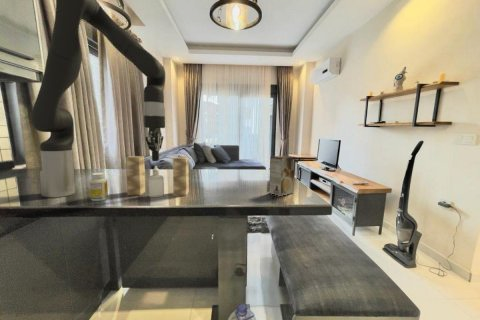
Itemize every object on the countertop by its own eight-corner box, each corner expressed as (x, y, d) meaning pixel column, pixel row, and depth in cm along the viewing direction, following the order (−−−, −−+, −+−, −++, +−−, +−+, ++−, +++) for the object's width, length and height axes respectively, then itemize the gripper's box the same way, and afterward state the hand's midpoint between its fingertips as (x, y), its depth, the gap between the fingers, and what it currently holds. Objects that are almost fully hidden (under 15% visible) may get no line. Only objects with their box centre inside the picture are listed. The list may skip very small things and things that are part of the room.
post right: (173, 195, 87) (172, 158, 86) (176, 192, 92) (176, 156, 90) (186, 195, 88) (185, 158, 86) (188, 192, 93) (188, 157, 91)
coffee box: (282, 190, 100) (283, 155, 98) (293, 193, 95) (296, 156, 93) (268, 193, 94) (270, 156, 92) (280, 197, 89) (282, 158, 87)
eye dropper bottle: (160, 198, 84) (159, 167, 83) (146, 197, 85) (145, 166, 83) (165, 194, 88) (165, 165, 87) (152, 193, 89) (152, 164, 88)
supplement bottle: (96, 202, 78) (94, 175, 76) (88, 199, 80) (86, 173, 79) (111, 198, 82) (110, 173, 81) (103, 196, 85) (101, 171, 84)
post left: (127, 195, 87) (125, 157, 85) (133, 191, 92) (131, 156, 90) (140, 195, 87) (139, 157, 85) (145, 191, 92) (144, 156, 90)
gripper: (150, 116, 89) (152, 158, 91) (136, 113, 76) (138, 163, 78) (169, 116, 89) (170, 158, 92) (158, 114, 76) (159, 163, 78)
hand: (155, 160), depth 85 cm, fingers closed
